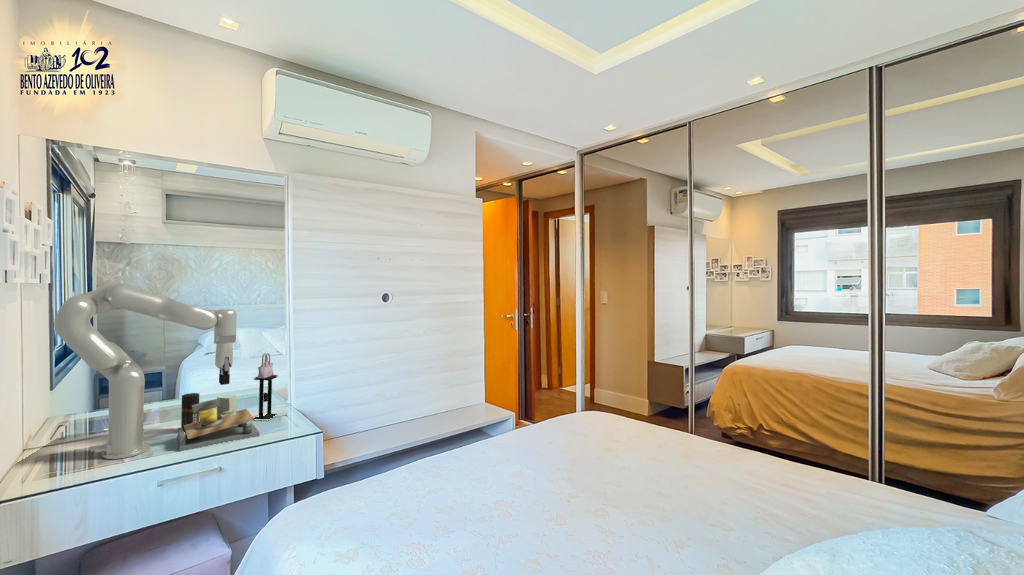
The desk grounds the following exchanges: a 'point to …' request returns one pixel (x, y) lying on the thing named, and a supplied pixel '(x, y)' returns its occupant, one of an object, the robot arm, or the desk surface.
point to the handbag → (268, 375)
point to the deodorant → (189, 409)
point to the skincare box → (226, 403)
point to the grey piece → (216, 436)
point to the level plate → (223, 425)
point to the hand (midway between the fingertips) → (224, 383)
